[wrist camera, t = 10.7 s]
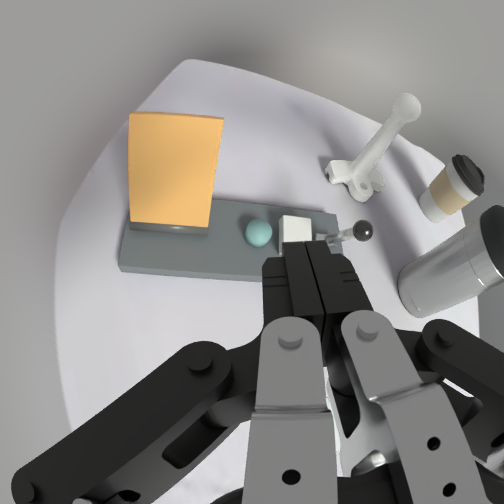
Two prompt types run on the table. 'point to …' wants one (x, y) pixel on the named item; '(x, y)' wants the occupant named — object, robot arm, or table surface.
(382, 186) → the joystick
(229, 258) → the panel
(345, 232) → the toggle lever
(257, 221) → the push button
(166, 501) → the table surface
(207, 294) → the table surface
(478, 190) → the coffee cup
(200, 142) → the tan flat slab
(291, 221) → the block
